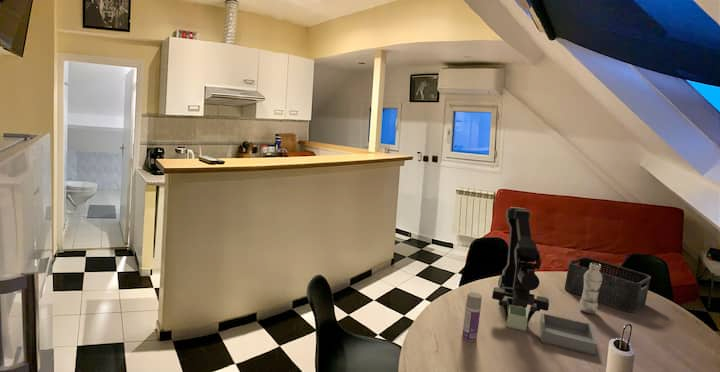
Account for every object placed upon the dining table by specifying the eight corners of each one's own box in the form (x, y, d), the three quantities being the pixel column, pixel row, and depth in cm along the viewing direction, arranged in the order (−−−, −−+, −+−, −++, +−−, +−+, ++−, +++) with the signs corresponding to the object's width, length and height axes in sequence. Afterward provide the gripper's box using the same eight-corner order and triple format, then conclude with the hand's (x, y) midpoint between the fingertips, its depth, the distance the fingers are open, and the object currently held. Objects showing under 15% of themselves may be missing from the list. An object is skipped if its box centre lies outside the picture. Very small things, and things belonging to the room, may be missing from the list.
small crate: (506, 326, 146) (508, 313, 145) (507, 316, 154) (509, 304, 153) (525, 331, 143) (527, 318, 143) (526, 321, 152) (528, 308, 151)
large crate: (540, 342, 137) (542, 331, 136) (539, 322, 151) (541, 312, 151) (595, 356, 131) (597, 344, 130) (588, 334, 145) (590, 323, 145)
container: (477, 336, 137) (482, 293, 135) (476, 343, 133) (481, 299, 131) (462, 333, 139) (467, 291, 136) (461, 339, 134) (466, 296, 132)
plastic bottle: (599, 316, 161) (608, 268, 158) (581, 314, 162) (589, 265, 159) (593, 310, 167) (601, 262, 164) (576, 307, 169) (583, 260, 166)
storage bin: (647, 304, 179) (653, 275, 177) (632, 314, 166) (638, 283, 164) (579, 282, 200) (583, 255, 198) (561, 290, 188) (565, 261, 186)
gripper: (493, 281, 142) (487, 323, 145) (552, 293, 135) (545, 337, 138) (496, 271, 153) (490, 311, 155) (550, 282, 146) (544, 323, 148)
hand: (516, 320), depth 149 cm, fingers closed on small crate, 6 cm apart
